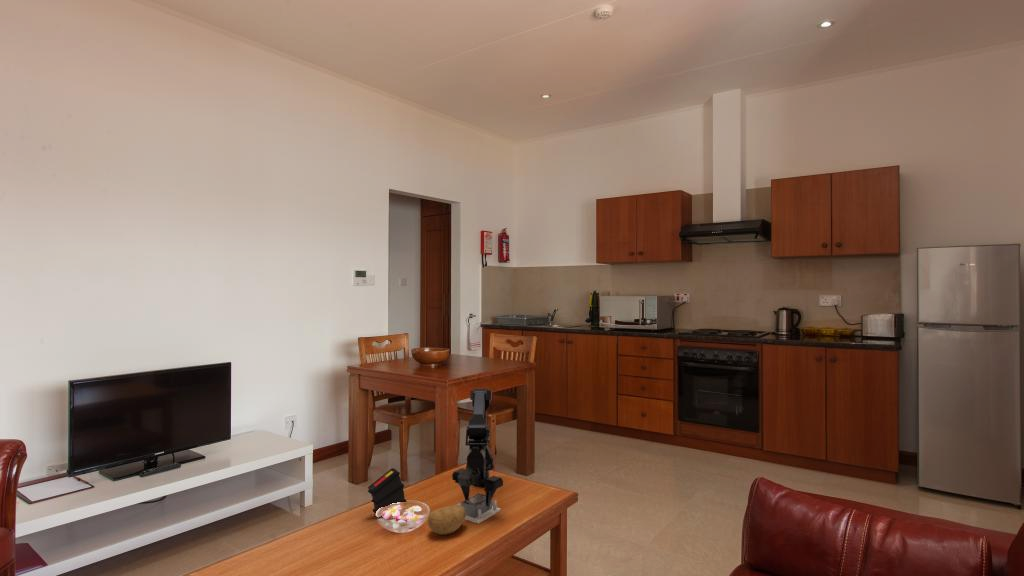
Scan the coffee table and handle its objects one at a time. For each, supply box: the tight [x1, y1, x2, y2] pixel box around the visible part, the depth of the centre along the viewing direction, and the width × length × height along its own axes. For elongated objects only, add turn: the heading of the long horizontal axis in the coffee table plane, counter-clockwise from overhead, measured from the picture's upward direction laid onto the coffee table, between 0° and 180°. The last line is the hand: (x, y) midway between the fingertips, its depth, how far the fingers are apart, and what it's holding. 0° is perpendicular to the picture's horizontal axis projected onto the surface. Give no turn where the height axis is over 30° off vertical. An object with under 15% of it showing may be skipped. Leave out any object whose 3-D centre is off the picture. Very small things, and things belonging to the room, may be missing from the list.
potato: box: [427, 504, 466, 536], centre depth 171 cm, size 10×14×8 cm
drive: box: [461, 493, 493, 518], centre depth 186 cm, size 10×6×4 cm, turn 146°
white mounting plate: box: [456, 494, 501, 524], centre depth 186 cm, size 13×11×4 cm
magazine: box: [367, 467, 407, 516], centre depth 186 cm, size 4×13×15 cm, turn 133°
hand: (477, 503), depth 186 cm, fingers open, 9 cm apart
